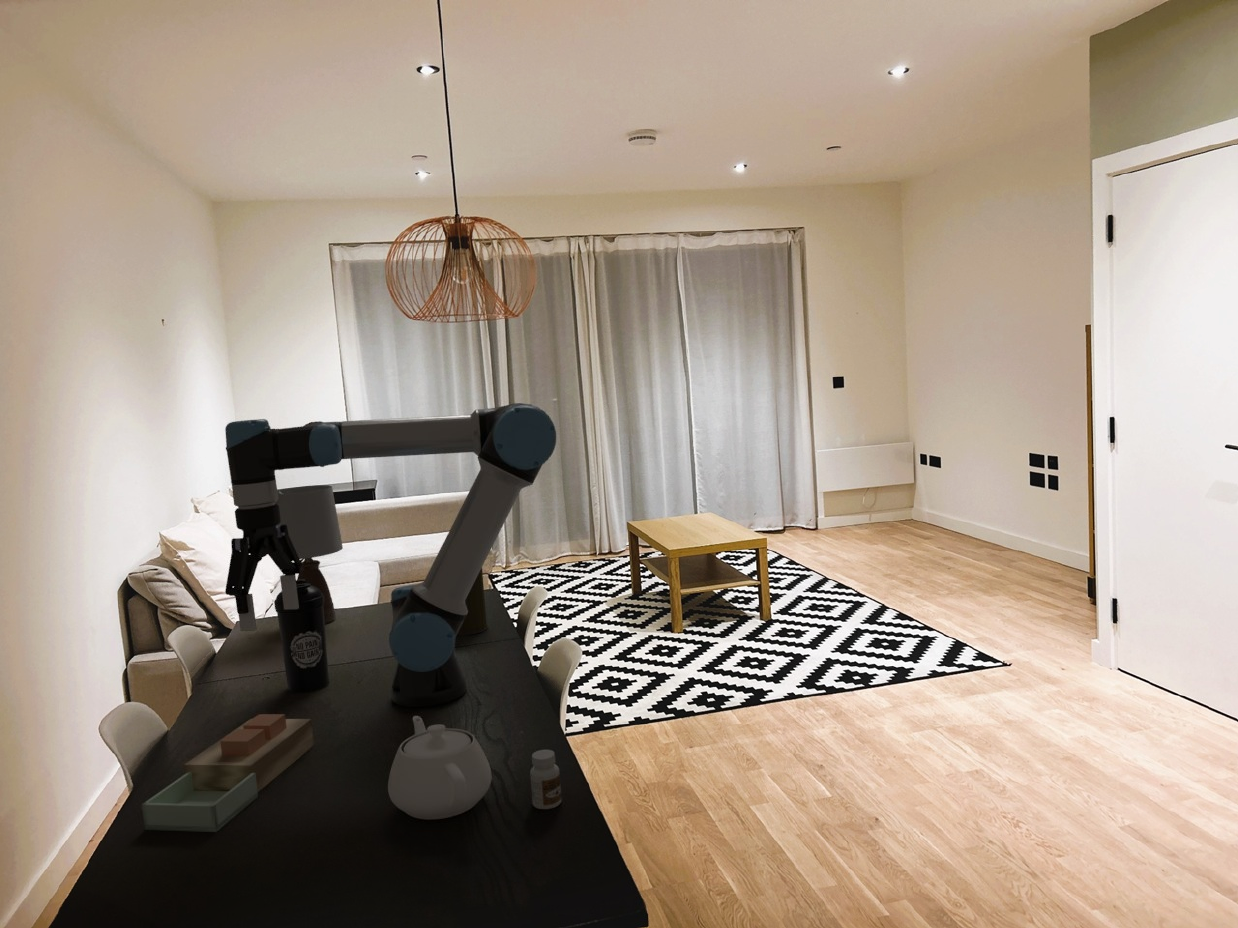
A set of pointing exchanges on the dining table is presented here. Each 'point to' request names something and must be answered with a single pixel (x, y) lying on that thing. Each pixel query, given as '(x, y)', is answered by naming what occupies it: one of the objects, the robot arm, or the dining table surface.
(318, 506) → the lamp
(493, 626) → the dining table surface
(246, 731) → the tile
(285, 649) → the water bottle
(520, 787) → the dining table surface
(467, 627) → the canister
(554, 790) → the pill bottle
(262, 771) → the long beige platform
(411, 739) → the teapot
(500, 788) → the dining table surface
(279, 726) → the tile
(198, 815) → the tray
